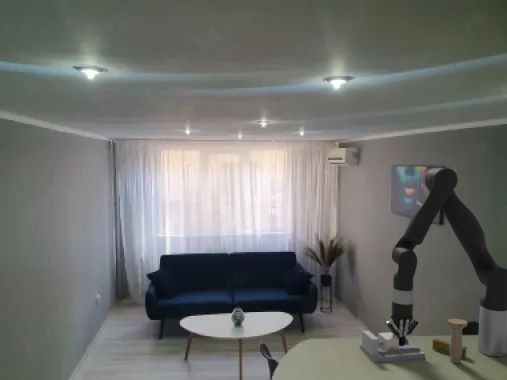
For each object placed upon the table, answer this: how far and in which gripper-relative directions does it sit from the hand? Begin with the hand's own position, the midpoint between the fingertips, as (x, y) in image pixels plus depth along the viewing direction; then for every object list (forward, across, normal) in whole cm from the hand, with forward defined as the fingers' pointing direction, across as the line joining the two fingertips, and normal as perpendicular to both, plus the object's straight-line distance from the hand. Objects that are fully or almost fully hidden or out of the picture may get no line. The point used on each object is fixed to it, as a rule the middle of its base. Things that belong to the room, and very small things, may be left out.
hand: (400, 345), depth 165 cm
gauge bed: (+3, +4, 0) cm, 5 cm away
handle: (+3, -15, +11) cm, 19 cm away
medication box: (+3, -18, +4) cm, 18 cm away
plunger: (+1, +7, +1) cm, 7 cm away
